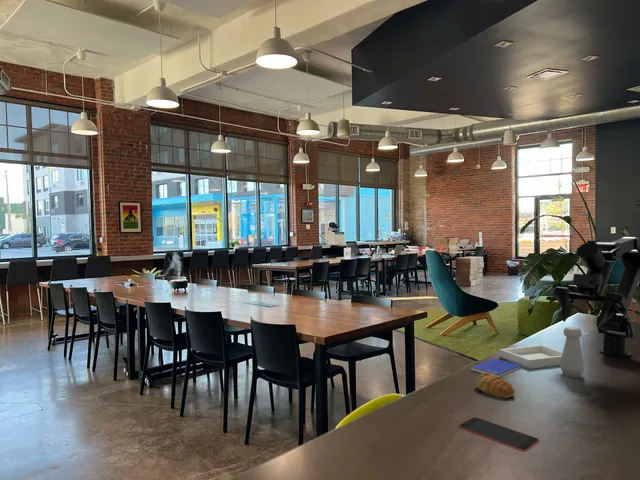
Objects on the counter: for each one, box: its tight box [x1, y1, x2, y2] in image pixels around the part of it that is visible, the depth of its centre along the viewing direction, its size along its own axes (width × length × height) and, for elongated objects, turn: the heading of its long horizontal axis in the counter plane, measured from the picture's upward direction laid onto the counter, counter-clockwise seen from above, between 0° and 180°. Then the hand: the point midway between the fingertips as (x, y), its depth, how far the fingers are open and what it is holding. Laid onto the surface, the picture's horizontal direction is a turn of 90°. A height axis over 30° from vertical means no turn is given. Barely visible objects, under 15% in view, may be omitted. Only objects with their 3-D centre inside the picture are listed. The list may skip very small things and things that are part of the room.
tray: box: [499, 344, 563, 370], centre depth 139 cm, size 16×12×2 cm
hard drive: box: [470, 358, 521, 378], centre depth 130 cm, size 2×8×12 cm
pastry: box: [475, 373, 516, 399], centre depth 113 cm, size 9×7×4 cm
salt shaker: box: [559, 326, 585, 379], centre depth 125 cm, size 6×6×13 cm
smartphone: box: [457, 417, 541, 452], centre depth 91 cm, size 7×1×14 cm
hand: (579, 323), depth 130 cm, fingers open, 9 cm apart
